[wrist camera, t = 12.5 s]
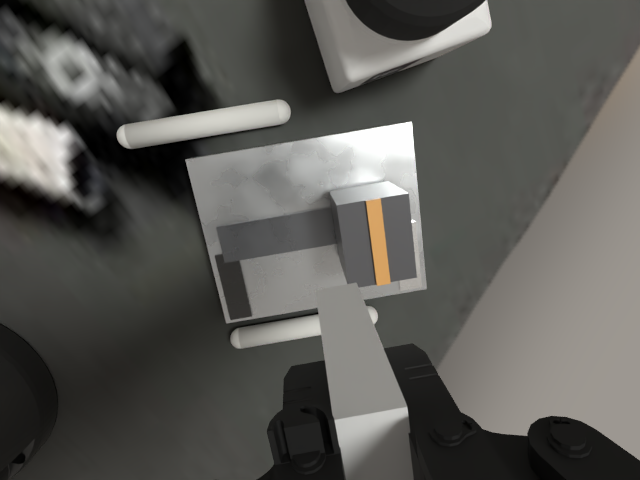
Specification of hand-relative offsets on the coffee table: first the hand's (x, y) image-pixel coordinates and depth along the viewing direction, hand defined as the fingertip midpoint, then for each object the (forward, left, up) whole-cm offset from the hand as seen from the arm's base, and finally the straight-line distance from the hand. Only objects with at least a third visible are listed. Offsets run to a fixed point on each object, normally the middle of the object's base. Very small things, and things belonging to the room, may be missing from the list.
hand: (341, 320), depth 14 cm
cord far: (-2, -8, -16) cm, 18 cm away
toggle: (+3, 0, -13) cm, 14 cm away
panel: (0, 0, -16) cm, 16 cm away
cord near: (-6, +8, -16) cm, 19 cm away
